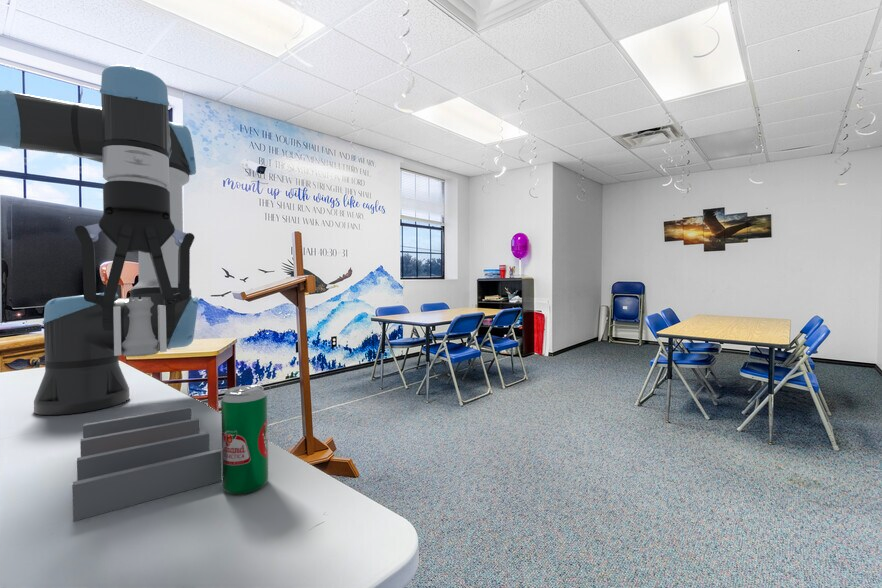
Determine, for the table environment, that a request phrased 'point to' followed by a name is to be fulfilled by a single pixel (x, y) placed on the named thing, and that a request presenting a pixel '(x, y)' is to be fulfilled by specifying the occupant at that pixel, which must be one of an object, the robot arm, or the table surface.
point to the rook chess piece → (140, 329)
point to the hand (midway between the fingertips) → (140, 352)
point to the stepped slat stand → (141, 461)
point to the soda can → (244, 439)
